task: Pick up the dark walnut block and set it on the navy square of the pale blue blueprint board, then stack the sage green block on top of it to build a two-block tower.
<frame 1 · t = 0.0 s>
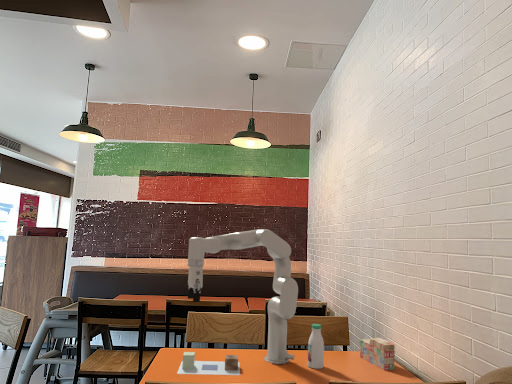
hand: (193, 300, 184), 31 cm above the table, tool pointing down, fingers open, 9 cm apart
walnut block: (231, 368, 182), point 1 cm above the table, touching blueprint board
sage block: (188, 367, 181), point 1 cm above the table, touching blueprint board
blueprint board: (209, 368, 181), on the table
milk bottle: (315, 367, 191), on the table
stack of blocks: (376, 363, 201), on the table
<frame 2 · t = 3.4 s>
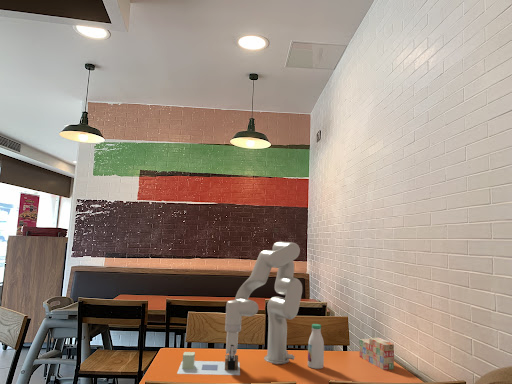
hand: (231, 366, 182), 1 cm above the table, tool pointing down, fingers closed on walnut block, 6 cm apart
walnut block: (231, 368, 182), point 1 cm above the table, touching blueprint board, gripper
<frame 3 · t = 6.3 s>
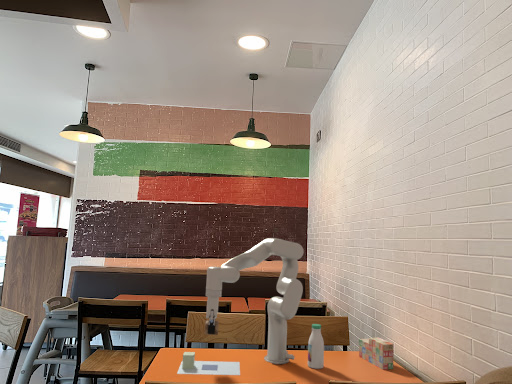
hand: (211, 331, 183), 17 cm above the table, tool pointing down, fingers closed on walnut block, 6 cm apart
walnut block: (211, 333, 183), point 16 cm above the table, touching gripper
when the fingers open (3 cm above the table, at t = 9.2 s): walnut block drops 1 cm, resting on blueprint board.
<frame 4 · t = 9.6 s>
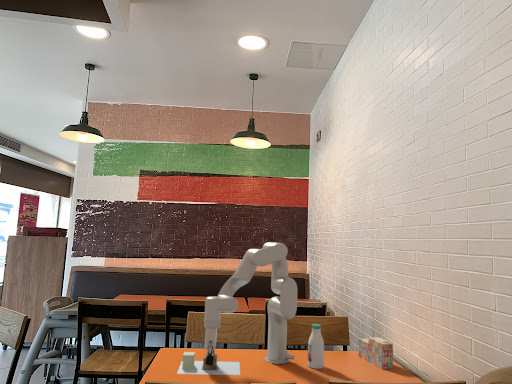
hand: (210, 361, 182), 3 cm above the table, tool pointing down, fingers open, 9 cm apart
walnut block: (209, 367, 182), point 1 cm above the table, touching blueprint board
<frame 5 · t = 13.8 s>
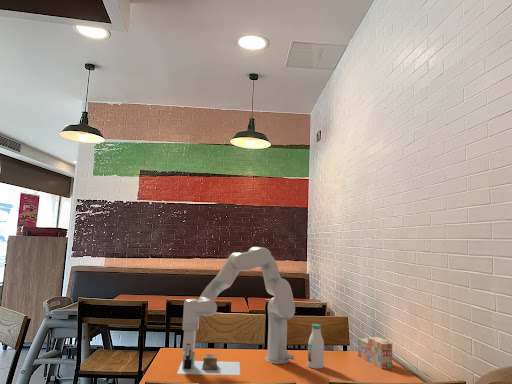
hand: (188, 366, 181), 1 cm above the table, tool pointing down, fingers closed on sage block, 4 cm apart
sage block: (188, 367, 181), point 1 cm above the table, touching blueprint board, gripper
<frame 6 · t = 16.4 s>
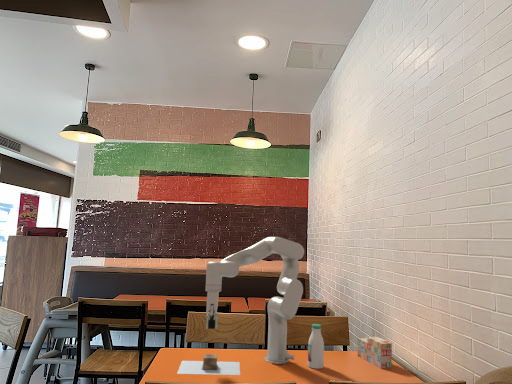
hand: (211, 326, 184), 19 cm above the table, tool pointing down, fingers closed on sage block, 4 cm apart
sage block: (211, 327, 184), point 19 cm above the table, touching gripper
when the fingers open (7 cm above the table, at t = 19.0 s): sage block drops 1 cm, resting on walnut block.
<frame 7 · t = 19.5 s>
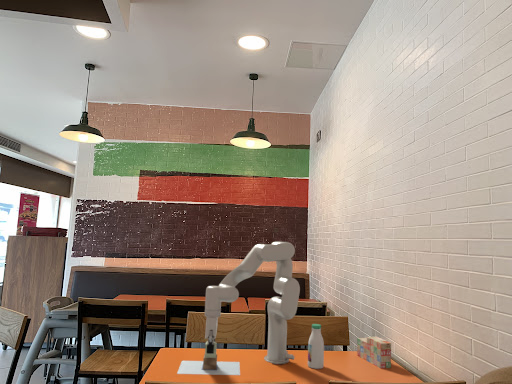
hand: (210, 350, 182), 8 cm above the table, tool pointing down, fingers open, 9 cm apart
walnut block: (209, 367, 182), point 1 cm above the table, touching blueprint board, sage block
sage block: (210, 356, 182), point 6 cm above the table, touching walnut block
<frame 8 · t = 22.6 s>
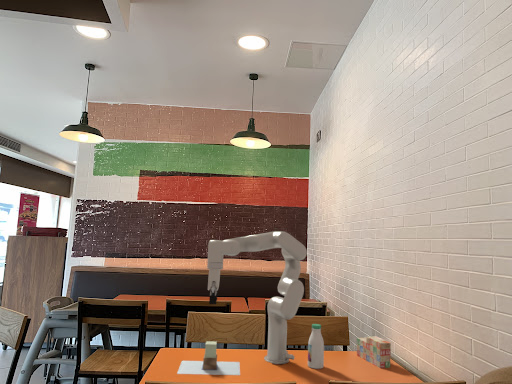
hand: (213, 302, 185), 30 cm above the table, tool pointing down, fingers open, 9 cm apart
at the end: walnut block 0.0 cm from the target spot, point 0.7 cm above the table; sage block 0.0 cm off-centre on the walnut block, point 5.0 cm above the walnut block's base; sage block tilted 0° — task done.
